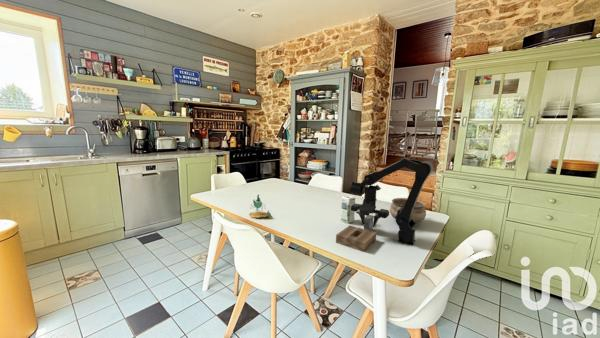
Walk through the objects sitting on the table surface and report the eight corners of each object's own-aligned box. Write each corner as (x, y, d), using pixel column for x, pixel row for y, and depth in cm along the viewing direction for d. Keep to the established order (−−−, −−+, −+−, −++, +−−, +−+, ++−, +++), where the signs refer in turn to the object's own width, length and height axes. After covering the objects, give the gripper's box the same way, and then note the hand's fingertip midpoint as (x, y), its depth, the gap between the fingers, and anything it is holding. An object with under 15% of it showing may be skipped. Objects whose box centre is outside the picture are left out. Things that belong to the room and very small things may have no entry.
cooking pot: (418, 234, 122) (421, 211, 120) (382, 225, 134) (383, 204, 132) (429, 220, 141) (431, 200, 139) (396, 213, 153) (397, 194, 151)
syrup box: (340, 220, 140) (341, 196, 138) (346, 218, 144) (347, 195, 141) (348, 223, 136) (349, 199, 133) (354, 221, 139) (355, 197, 137)
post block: (375, 240, 115) (376, 232, 115) (364, 251, 105) (364, 243, 104) (349, 232, 124) (349, 225, 123) (335, 242, 113) (336, 234, 112)
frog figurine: (264, 222, 137) (261, 197, 135) (243, 218, 148) (241, 195, 146) (275, 217, 145) (273, 193, 143) (255, 214, 155) (252, 191, 154)
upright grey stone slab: (372, 229, 128) (373, 215, 126) (368, 233, 123) (369, 218, 122) (368, 228, 129) (368, 214, 128) (363, 232, 124) (364, 217, 123)
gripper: (346, 197, 122) (345, 226, 125) (383, 204, 111) (380, 236, 114) (355, 193, 131) (354, 220, 133) (390, 199, 120) (388, 228, 122)
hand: (368, 226), depth 125 cm, fingers open, 5 cm apart
